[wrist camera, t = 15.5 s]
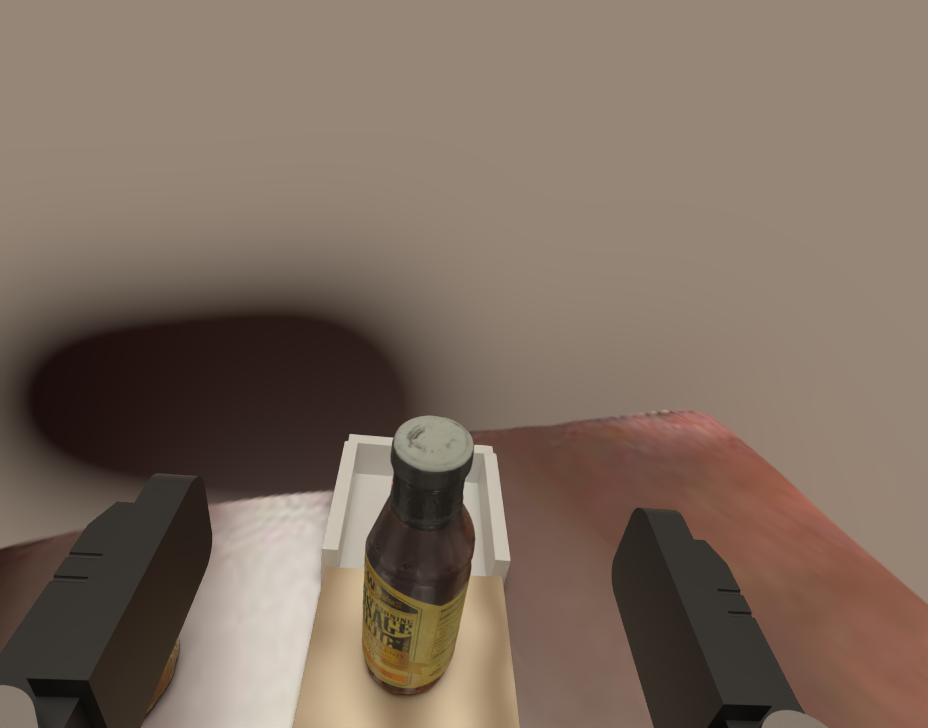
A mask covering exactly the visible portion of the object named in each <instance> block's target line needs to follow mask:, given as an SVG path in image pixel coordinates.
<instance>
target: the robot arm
mask: <svg viewBox="0 0 928 728" xmlns="http://www.w3.org/2000/svg"><path fill="white" fill-rule="evenodd" d="M211 548H212V530H211V523H210V517H209V510H208V504H207V498H206V491H205V485H204V481H203V479H202V477H200V476H186V475H171V474H154V475H153V476H152V477H151V478H150V479H149V480H148V482H147V484H146V485H145V486H144V488H143V490H142V491H141V493H140V495H139V496H138V498H137V500H136V501H135V503H128V502H116V503H115V504H114V505H113V506H111V507H110V508H109V509H107V510H106V511H105V512H104V513H102V514H101V515H100V516H98V517H97V518H96V519H95V520H93V521H92V522H91V523H90V524H88V526H87V527H86V529H85V530H84V531H83V533H82V534H81V536H80V537H79V539H78V540H77V542H76V543H75V545H74V546H73V548H72V549H71V551H70V554H69V557H68V558H65V559H64V561H63V562H62V564H61V565H60V567H59V568H58V570H57V571H56V573H55V574H54V579H53V581H49V583H48V584H47V586H46V587H45V589H44V590H43V592H42V593H41V595H40V596H39V598H38V599H37V601H36V602H35V603H34V605H33V606H32V608H31V609H30V611H29V612H28V614H27V615H26V617H25V618H24V620H23V621H22V623H21V624H20V625H19V627H18V628H17V630H16V631H15V633H14V634H13V636H12V637H11V639H10V640H9V642H8V643H7V645H6V646H5V648H4V649H3V650H2V652H1V653H0V728H140V727H141V725H142V722H143V720H144V717H145V715H146V713H147V710H148V708H149V705H150V703H151V701H152V698H153V696H154V693H155V691H156V689H157V686H158V684H159V681H160V679H161V677H162V674H163V672H164V669H165V667H166V665H167V662H168V660H169V657H170V655H171V653H172V650H173V648H174V645H175V643H176V641H177V638H178V636H179V633H180V631H181V629H182V626H183V624H184V621H185V619H186V617H187V614H188V612H189V609H190V607H191V605H192V602H193V600H194V597H195V595H196V593H197V590H198V588H199V585H200V583H201V581H202V578H203V576H204V573H205V571H206V568H207V565H208V562H209V558H210V554H211ZM612 586H613V591H614V595H615V598H616V602H617V605H618V608H619V612H620V615H621V618H622V622H623V625H624V628H625V632H626V635H627V639H628V642H629V645H630V649H631V652H632V655H633V659H634V662H635V666H636V669H637V672H638V676H639V679H640V682H641V686H642V689H643V693H644V696H645V699H646V703H647V706H648V709H649V713H650V716H651V719H652V723H653V726H654V728H828V727H827V726H825V725H824V724H822V723H821V722H819V721H818V720H816V719H814V718H812V717H810V716H808V715H806V714H805V713H804V711H803V710H802V708H801V706H800V704H799V703H798V701H797V699H796V697H795V695H794V693H793V691H792V689H791V687H790V685H789V684H788V682H787V680H786V678H785V676H784V674H783V672H782V670H781V668H780V666H779V664H778V662H777V660H776V658H775V656H774V654H773V652H772V651H771V649H770V647H769V645H768V643H767V641H766V639H765V637H764V635H763V633H762V631H761V629H760V627H759V625H758V623H757V621H756V619H755V618H752V616H751V613H752V612H751V610H750V608H749V606H748V604H747V602H746V600H745V598H744V596H743V595H741V594H740V588H739V586H738V585H737V583H736V581H735V579H734V577H733V575H732V573H731V571H730V569H729V567H728V565H727V563H726V562H725V561H724V560H723V559H722V558H721V557H720V556H719V555H718V554H717V553H716V552H715V551H714V550H713V549H712V548H711V546H710V545H709V544H708V543H707V542H706V541H705V540H694V539H693V537H692V535H691V533H690V531H689V529H688V527H687V525H686V522H685V520H684V518H683V517H682V515H681V514H680V513H679V512H678V511H676V510H665V509H650V508H636V509H635V510H634V511H633V513H632V515H631V517H630V520H629V522H628V525H627V527H626V530H625V532H624V535H623V537H622V539H621V542H620V544H619V547H618V549H617V552H616V554H615V557H614V560H613V564H612Z"/></svg>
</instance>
